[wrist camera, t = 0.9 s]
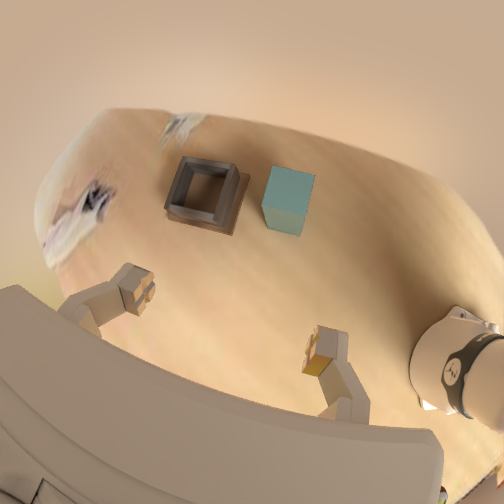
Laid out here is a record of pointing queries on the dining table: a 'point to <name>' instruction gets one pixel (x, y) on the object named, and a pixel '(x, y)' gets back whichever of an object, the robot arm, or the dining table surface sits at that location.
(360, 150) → the dining table surface
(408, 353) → the dining table surface
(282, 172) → the teal block
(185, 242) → the dining table surface
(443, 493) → the mate gourd
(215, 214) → the box
